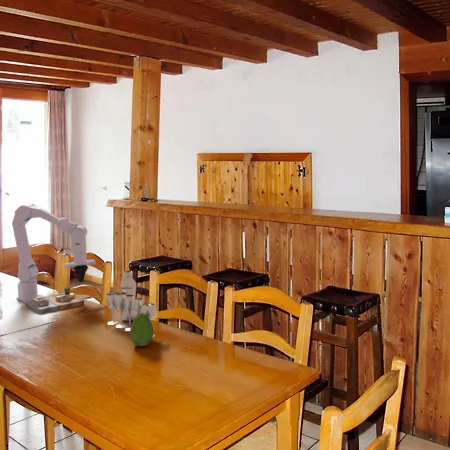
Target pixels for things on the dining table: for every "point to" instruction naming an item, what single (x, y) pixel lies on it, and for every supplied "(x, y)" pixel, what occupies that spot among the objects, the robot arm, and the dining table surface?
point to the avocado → (142, 330)
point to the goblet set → (128, 307)
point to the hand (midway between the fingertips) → (80, 281)
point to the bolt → (67, 291)
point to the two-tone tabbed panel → (53, 303)
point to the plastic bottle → (128, 293)
